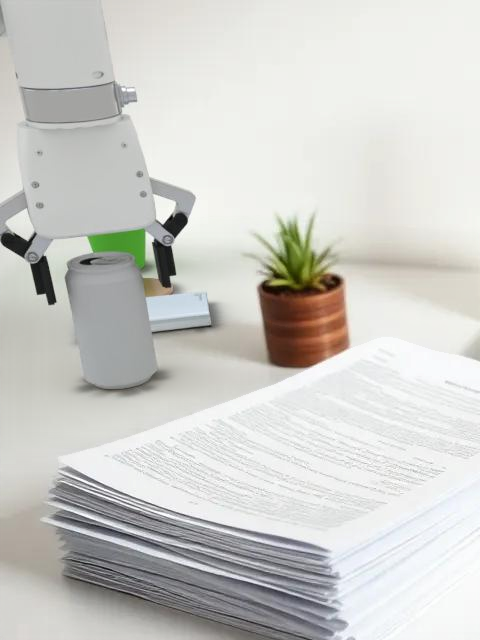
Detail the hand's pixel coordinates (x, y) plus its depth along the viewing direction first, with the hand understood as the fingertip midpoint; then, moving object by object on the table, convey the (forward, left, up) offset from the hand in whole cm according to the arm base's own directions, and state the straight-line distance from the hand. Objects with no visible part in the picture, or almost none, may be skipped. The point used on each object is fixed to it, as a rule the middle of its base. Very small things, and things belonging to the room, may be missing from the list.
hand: (109, 292), depth 104 cm
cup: (-11, +36, -9) cm, 38 cm away
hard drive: (-2, +16, -9) cm, 19 cm away
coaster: (-7, +26, -9) cm, 28 cm away
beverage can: (0, 0, -9) cm, 9 cm away
